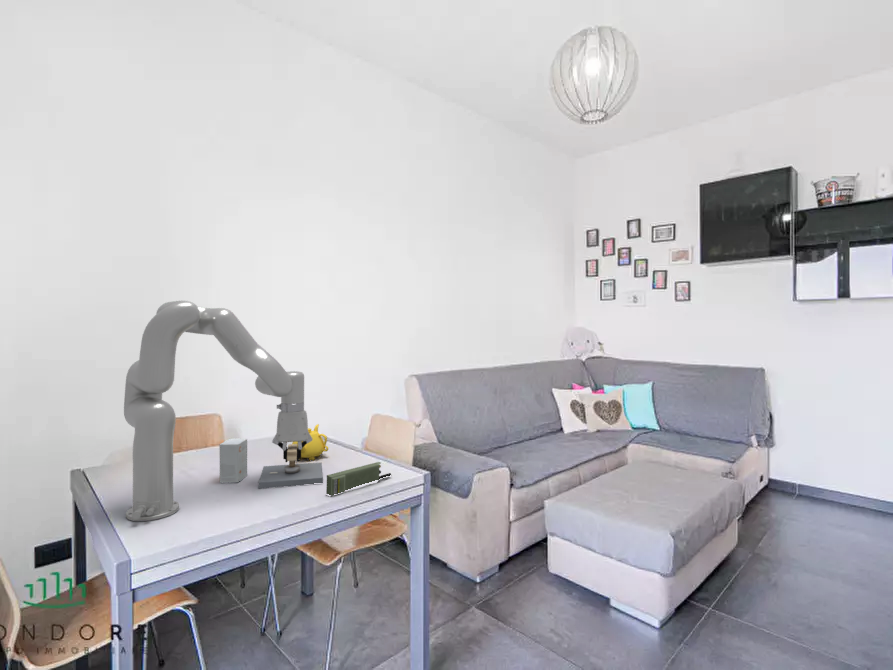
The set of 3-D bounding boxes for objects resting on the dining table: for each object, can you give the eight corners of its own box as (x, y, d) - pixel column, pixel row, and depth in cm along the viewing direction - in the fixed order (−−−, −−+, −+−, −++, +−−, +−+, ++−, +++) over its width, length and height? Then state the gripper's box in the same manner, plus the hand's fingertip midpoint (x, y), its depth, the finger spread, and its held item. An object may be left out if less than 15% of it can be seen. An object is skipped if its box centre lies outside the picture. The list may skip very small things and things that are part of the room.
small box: (229, 475, 163) (229, 438, 163) (247, 475, 163) (248, 438, 163) (218, 483, 155) (219, 444, 155) (238, 483, 155) (238, 444, 155)
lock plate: (322, 483, 156) (322, 477, 156) (258, 488, 150) (258, 482, 150) (321, 467, 173) (321, 461, 173) (263, 471, 168) (263, 465, 168)
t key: (299, 474, 158) (299, 451, 157) (283, 476, 156) (283, 452, 156) (300, 466, 167) (300, 443, 167) (285, 467, 166) (285, 444, 166)
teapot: (318, 465, 176) (319, 435, 176) (280, 464, 177) (281, 433, 177) (336, 451, 196) (337, 424, 195) (302, 450, 197) (302, 422, 197)
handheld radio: (324, 495, 146) (387, 477, 164) (330, 498, 144) (393, 479, 162) (325, 474, 146) (387, 458, 164) (331, 477, 144) (393, 460, 162)
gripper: (266, 410, 155) (265, 465, 156) (317, 408, 160) (317, 462, 160) (268, 406, 163) (267, 459, 163) (317, 404, 167) (316, 456, 168)
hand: (292, 460), depth 162 cm, fingers closed on t key, 3 cm apart
